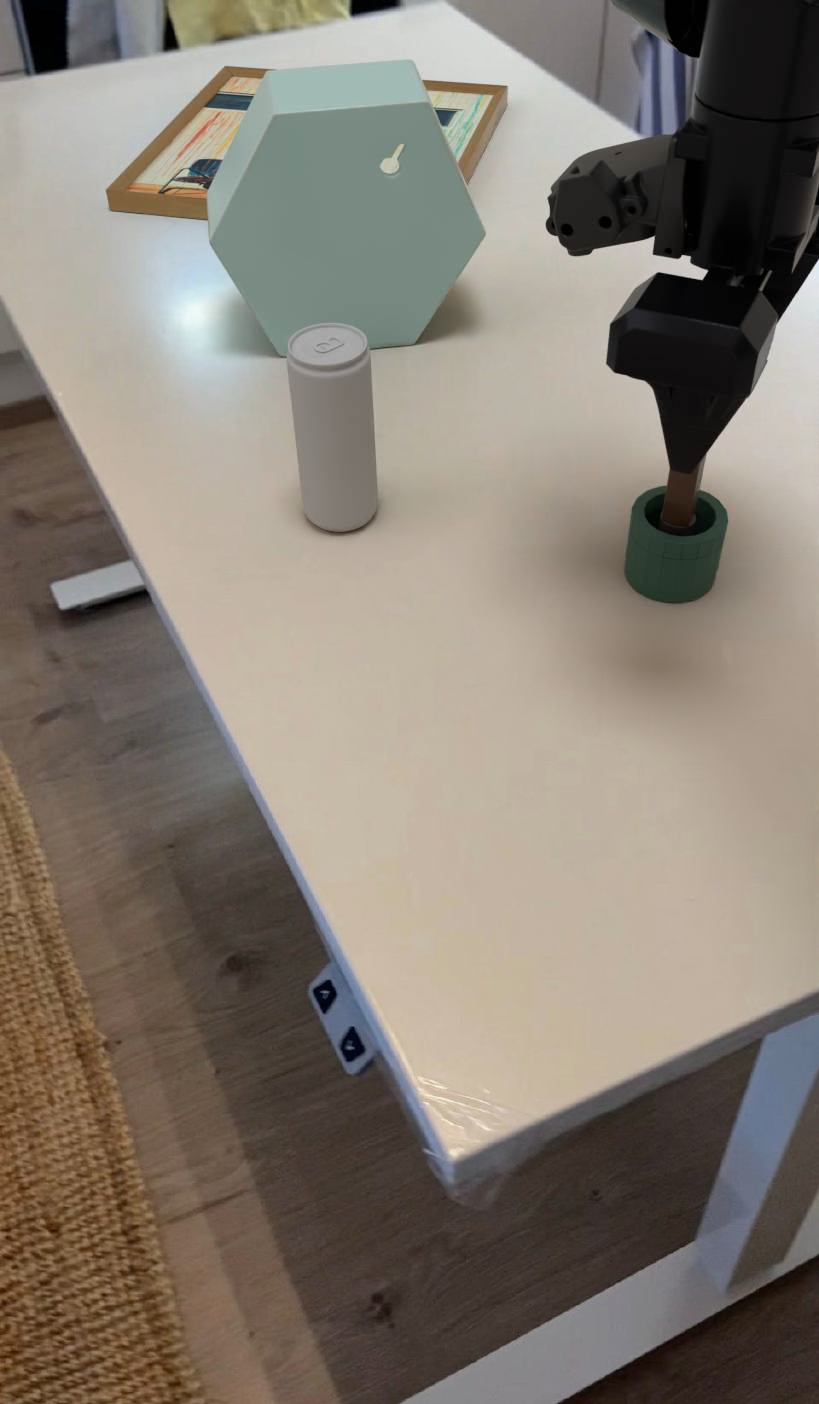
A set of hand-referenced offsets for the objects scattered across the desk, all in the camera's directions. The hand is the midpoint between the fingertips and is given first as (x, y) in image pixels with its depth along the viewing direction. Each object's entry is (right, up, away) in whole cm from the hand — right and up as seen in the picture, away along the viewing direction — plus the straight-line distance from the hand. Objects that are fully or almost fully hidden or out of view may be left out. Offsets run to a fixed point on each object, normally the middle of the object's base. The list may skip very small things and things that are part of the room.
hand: (707, 421), depth 60 cm
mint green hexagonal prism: (-20, +15, +32) cm, 40 cm away
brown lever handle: (0, -6, +11) cm, 12 cm away
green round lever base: (+1, -6, +11) cm, 13 cm away
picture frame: (-24, +38, +54) cm, 70 cm away
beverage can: (-19, -2, +16) cm, 25 cm away
